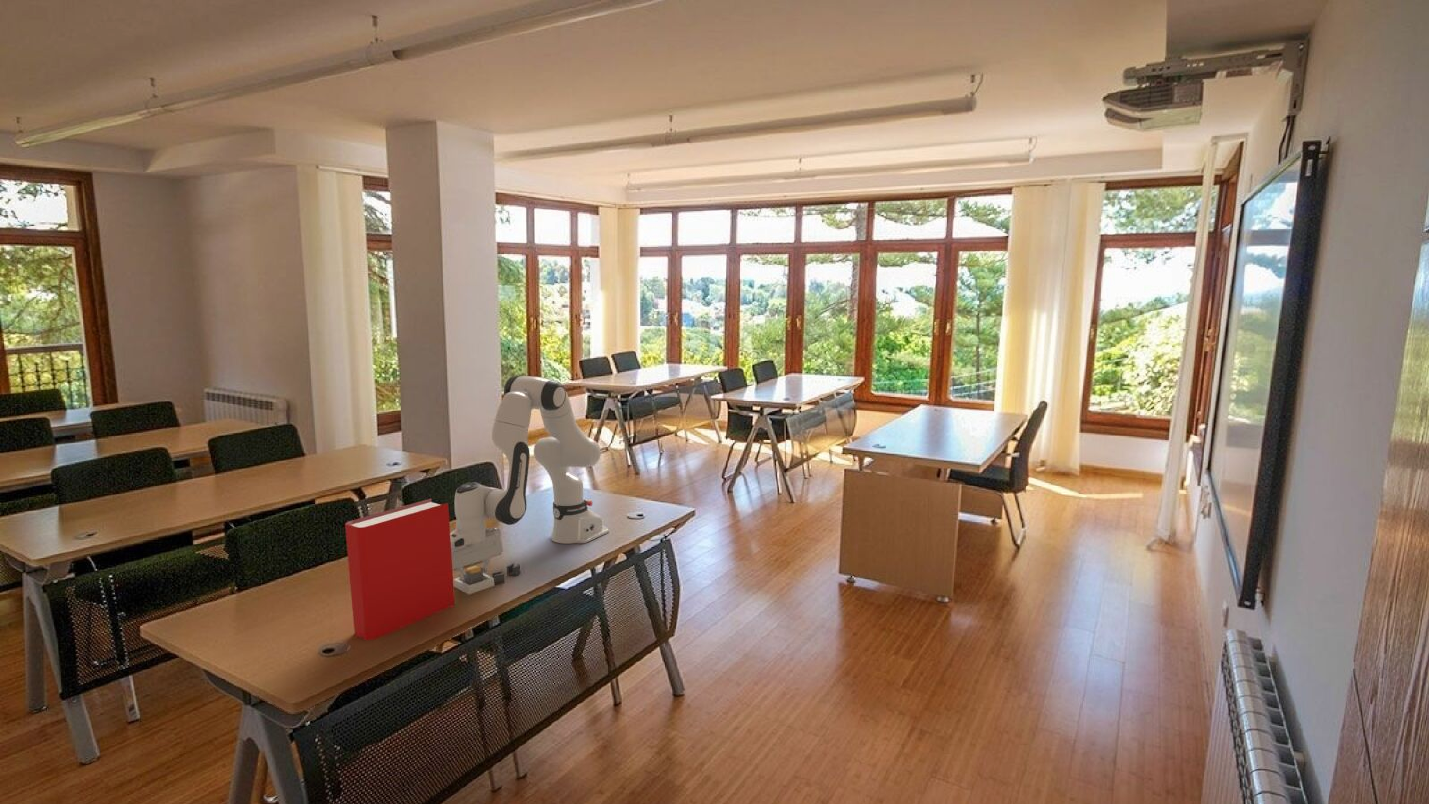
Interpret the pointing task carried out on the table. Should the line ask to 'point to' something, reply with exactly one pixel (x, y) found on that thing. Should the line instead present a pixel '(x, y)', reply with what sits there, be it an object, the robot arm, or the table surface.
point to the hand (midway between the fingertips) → (473, 575)
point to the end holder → (474, 587)
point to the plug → (473, 575)
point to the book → (399, 567)
